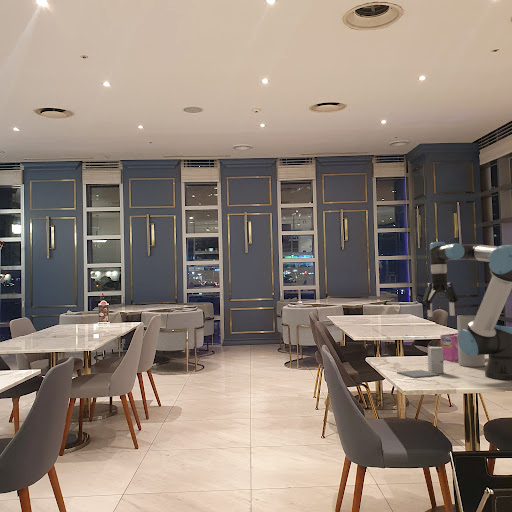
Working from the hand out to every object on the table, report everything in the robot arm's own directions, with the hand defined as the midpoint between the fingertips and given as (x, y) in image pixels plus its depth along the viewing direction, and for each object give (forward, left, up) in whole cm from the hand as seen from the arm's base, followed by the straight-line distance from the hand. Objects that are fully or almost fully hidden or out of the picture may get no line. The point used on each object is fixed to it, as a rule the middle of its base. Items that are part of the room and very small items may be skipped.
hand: (441, 316), depth 256 cm
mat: (-5, +19, -26) cm, 33 cm away
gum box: (+24, -32, -27) cm, 48 cm away
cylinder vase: (+4, -22, -26) cm, 34 cm away
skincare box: (-5, +8, -26) cm, 28 cm away
